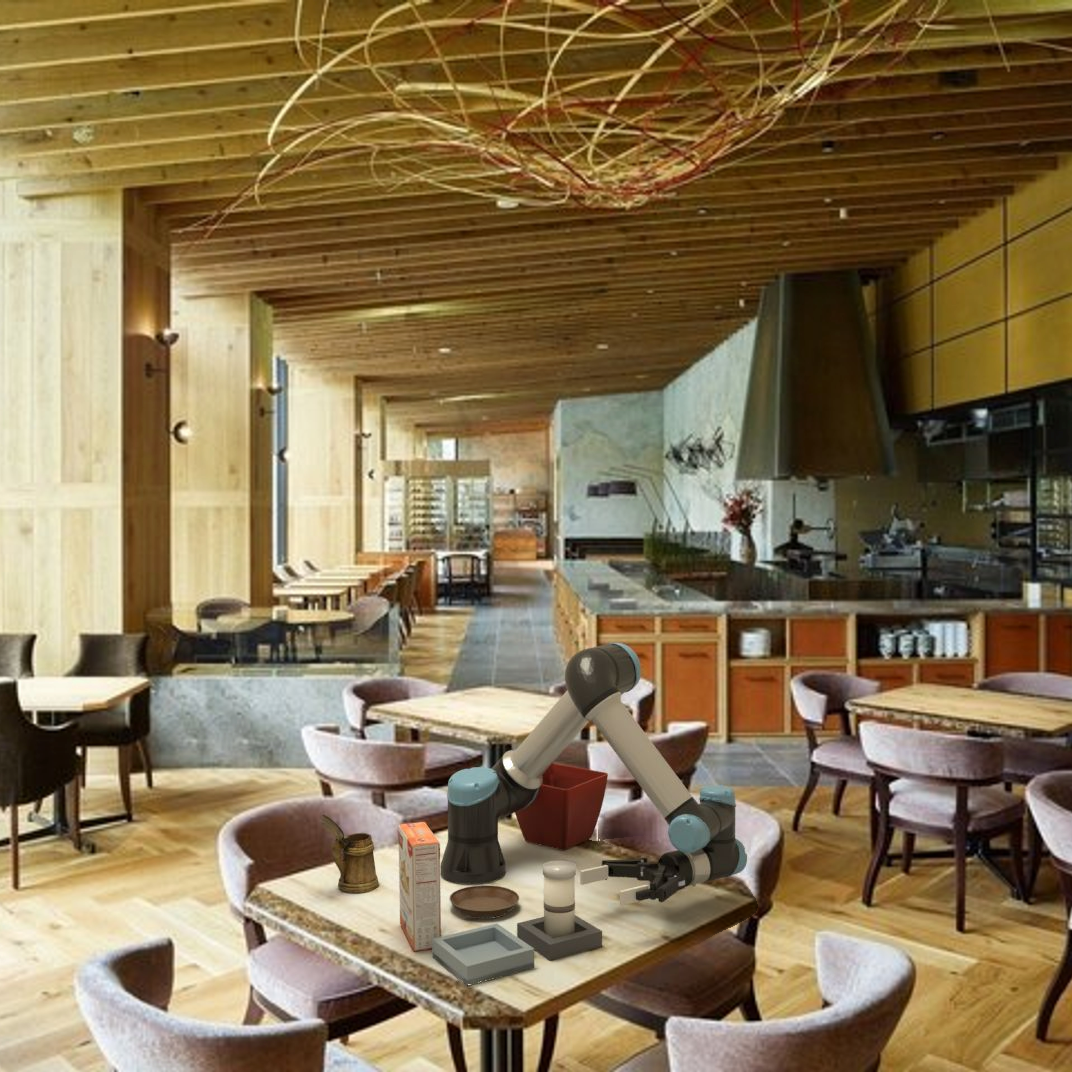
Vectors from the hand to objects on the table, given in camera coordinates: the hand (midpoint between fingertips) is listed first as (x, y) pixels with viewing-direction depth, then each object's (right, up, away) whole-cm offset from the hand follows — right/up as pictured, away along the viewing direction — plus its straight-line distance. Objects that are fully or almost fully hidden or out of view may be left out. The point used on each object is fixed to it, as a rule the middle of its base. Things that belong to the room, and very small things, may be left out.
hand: (600, 887), depth 207 cm
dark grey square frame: (-8, -9, -5) cm, 13 cm away
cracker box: (-36, -9, -2) cm, 37 cm away
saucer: (-24, -9, +13) cm, 28 cm away
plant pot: (-7, -8, +58) cm, 59 cm away
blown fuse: (-8, -9, -5) cm, 13 cm away
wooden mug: (-54, -9, +24) cm, 60 cm away
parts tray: (-23, -9, -14) cm, 28 cm away
